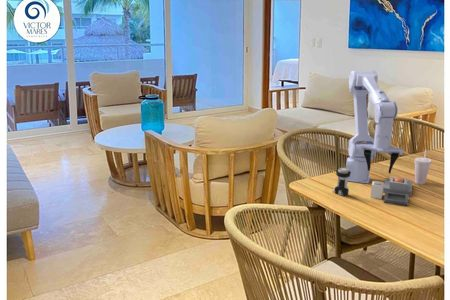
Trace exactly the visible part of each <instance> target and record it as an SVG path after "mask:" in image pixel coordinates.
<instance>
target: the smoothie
mask: <svg viewBox="0 0 450 300" xmlns="http://www.w3.org/2000/svg"><path fill="white" fill-rule="evenodd" d="M423 155H424V156H423V157H415V158H414V160H413V161H414V183H415V184H417V185H425V184H426V182H427V176H428V174H429V170H430V166H431V164H432V160H431V159H430V158H427V148H425V149H424V154H423Z"/></svg>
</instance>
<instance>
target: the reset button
mask: <svg viewBox="0 0 450 300" xmlns="http://www.w3.org/2000/svg"><path fill="white" fill-rule="evenodd" d="M402 178H403V177H395V180H394V182H400V183H403V179H404V178H403V179H402Z"/></svg>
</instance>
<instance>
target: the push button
mask: <svg viewBox="0 0 450 300" xmlns="http://www.w3.org/2000/svg"><path fill="white" fill-rule="evenodd" d="M335 174H336V176H337V184H336V186H335V187H331V189H332V190H331V191H332V192H334V194H335V195H338V196H342V197H347V196H349V190H350V189H349V188H348V182H349V181H348V177H350V174H351V172H350V171H349V169H347V168H346V167H339V168H338V169H337V170H336V171H335Z"/></svg>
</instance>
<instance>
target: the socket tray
mask: <svg viewBox="0 0 450 300" xmlns="http://www.w3.org/2000/svg"><path fill="white" fill-rule="evenodd" d="M383 203H384V204H390V205H397V206H403V207H408V206H409V196H408V195H407V194H400V193H392V192H386V193H384V199H383Z"/></svg>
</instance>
